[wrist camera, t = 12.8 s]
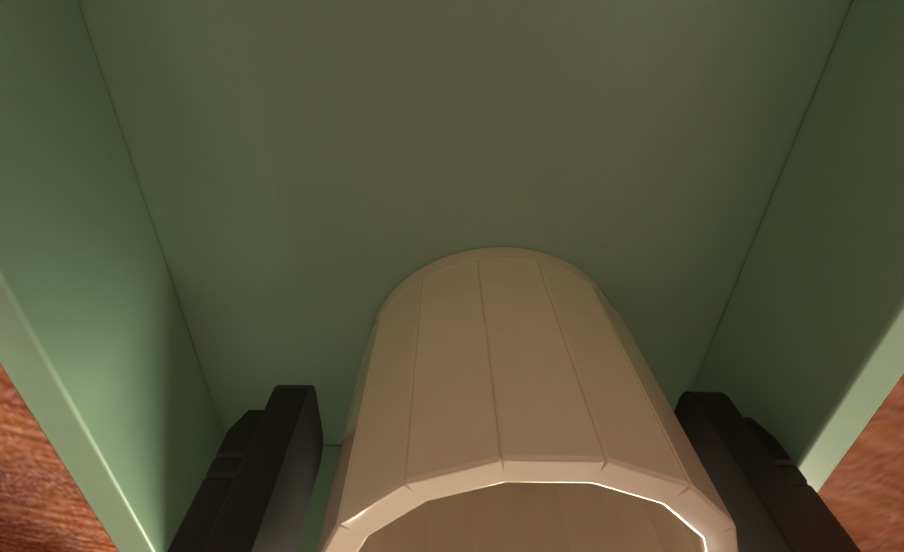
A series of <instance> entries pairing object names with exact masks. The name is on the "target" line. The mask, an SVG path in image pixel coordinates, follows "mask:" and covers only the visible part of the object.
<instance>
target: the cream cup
mask: <svg viewBox="0 0 904 552" xmlns="http://www.w3.org/2000/svg"><path fill="white" fill-rule="evenodd" d="M316 552H738V544H737V534H736V525H735V523H734V522H733V520H732V518H731V516H730V514H729V512H728V511H727V509H726V507H725V505H724V503H723V501H722V500H721V498H720V496H719V494H718V492H717V490H716V489H715V487H714V485H713V483H712V481H711V480H710V478H709V476H708V474H707V472H706V470H705V469H704V467H703V465H702V463H701V461H700V459H699V458H698V456H697V454H696V452H695V450H694V449H693V447H692V445H691V443H690V441H689V439H688V438H687V436H686V434H685V432H684V430H683V428H682V427H681V425H680V423H679V421H678V419H677V418H676V416H675V414H674V412H673V410H672V408H671V407H670V405H669V403H668V401H667V399H666V397H665V396H664V394H663V392H662V390H661V388H660V386H659V385H658V383H657V381H656V379H655V377H654V376H653V374H652V372H651V370H650V368H649V366H648V365H647V363H646V361H645V359H644V357H643V355H642V354H641V352H640V350H639V348H638V346H637V345H636V343H635V341H634V339H633V337H632V335H631V334H630V332H629V330H628V328H627V326H626V324H625V323H624V321H623V319H622V317H621V315H620V314H619V313H618V312H617V311H616V310H615V309H614V308H613V306H612V304H611V302H610V301H609V299H608V297H607V295H606V294H605V293H604V292H603V290H602V289H601V288H600V287H599V285H598V284H597V283H596V282H595V281H593V280H592V279H591V278H590V277H589V276H588V275H587V274H585V273H584V272H583V271H581V270H580V269H578V268H577V267H575V266H574V265H572V264H570V263H568V262H566V261H564V260H562V259H560V258H557V257H554V256H551V255H548V254H545V253H543V252H539V251H534V250H529V249H524V248H513V247H486V248H479V249H472V250H466V251H463V252H459V253H455V254H452V255H448V256H446V257H444V258H441V259H439V260H436V261H434V262H432V263H430V264H428V265H426V266H424V267H423V268H421V269H419V270H417V271H416V272H414V273H413V274H412V275H410V276H409V277H408V278H406V279H405V280H404V281H402V282H401V283H400V284H399V285H398V286H397V287H396V288H395V289H394V290H393V291H392V292H391V293H390V295H389V296H388V297H387V299H386V300H385V301H384V302H383V304H382V305H381V307H380V309H379V311H378V313H377V315H376V316H375V319H374V322H373V324H372V327H371V330H370V334H369V339H368V342H367V344H366V346H365V348H364V351H363V355H362V359H361V363H360V368H359V372H358V376H357V380H356V385H355V389H354V393H353V397H352V402H351V406H350V410H349V414H348V419H347V423H346V427H345V431H344V435H343V440H342V444H341V448H340V452H339V457H338V461H337V465H336V469H335V474H334V478H333V482H332V486H331V490H330V495H329V499H328V503H327V507H326V512H325V516H324V520H323V524H322V529H321V533H320V537H319V541H318V546H317V550H316Z"/></svg>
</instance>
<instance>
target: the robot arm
mask: <svg viewBox="0 0 904 552" xmlns="http://www.w3.org/2000/svg"><path fill="white" fill-rule="evenodd" d="M674 414H675V416H676V418H677V419H678V421H679V423H680V425H681V427H682V428H683V430H684V432H685V434H686V436H687V438H688V439H689V441H690V443H691V445H692V447H693V449H694V450H695V452H696V454H697V456H698V458H699V459H700V461H701V463H702V465H703V467H704V469H705V470H706V472H707V474H708V476H709V478H710V480H711V481H712V483H713V485H714V487H715V489H716V490H717V492H718V494H719V496H720V498H721V500H722V501H723V503H724V505H725V507H726V509H727V511H728V512H729V514H730V516H731V518H732V520H733V522H734V523H735V525H736V534H737V544H738V552H861V551H860V550H859V549H858V547H857V546H856V545H855V543H854V542H853V541H852V539H851V538H850V537H849V535H848V534H847V533H846V531H845V530H844V529H843V527H842V526H841V525H840V523H839V522H838V521H837V519H836V518H835V517H834V515H833V514H832V513H831V511H830V510H829V509H828V507H827V506H826V505H825V503H824V502H823V501H822V499H821V498H820V497H819V495H818V494H817V493H816V491H815V490H814V489H813V487H812V486H809V485H808V484H807V479H806V478H805V477H804V475H803V474H802V473H801V471H800V470H799V469H798V467H797V466H794V465H793V464H792V459H791V458H790V457H789V455H788V454H787V453H786V451H785V450H784V449H783V447H782V446H781V445H780V443H779V442H778V441H777V439H776V438H775V437H774V436H773V435H771V434H770V433H769V432H768V431H766V430H765V429H764V428H763V427H762V426H760V425H759V424H758V423H757V422H755V421H754V420H753V419H752V418H751V417H743V416H742V415H741V413H740V412H739V411H738V409H737V408H736V406H735V405H734V404H733V402H732V401H731V399H730V398H729V397H728V396H727V395H726V394H724V393H722V392H689V391H686V392H684V393H682V395H681V396H680V398H679V400H678V403H677V405H676V408H675V410H674ZM322 450H323V431H322V425H321V419H320V413H319V407H318V401H317V395H316V390H315V387H314V386H313V385H277V386H276V387H275V388H274V389H273V391H272V393H271V396H270V398H269V400H268V403H267V405H266V407H265V409H264V410H248V411H247V412H246V413H245V414H244V415H243V416H242V417H241V418H240V419H239V420H238V421H237V422H236V423H235V424H234V425H233V426H232V427H231V428H230V429H229V430H228V432H227V434H226V436H225V438H224V440H223V442H222V444H221V446H220V448H219V450H218V451H217V453H216V454H217V456H216V458H214V459H213V461H212V463H211V465H210V467H209V469H208V471H207V473H206V474H207V475H206V479H203V481H202V483H201V485H200V487H199V489H198V491H197V493H196V495H195V497H194V499H193V501H192V503H191V505H190V507H189V509H188V511H187V513H186V515H185V517H184V519H183V521H182V523H181V525H180V527H179V529H178V531H177V533H176V535H175V537H174V539H173V541H172V543H171V545H170V547H169V549H168V551H167V552H296V551H297V548H298V544H299V540H300V536H301V533H302V529H303V525H304V522H305V518H306V514H307V511H308V507H309V503H310V499H311V496H312V492H313V488H314V485H315V481H316V477H317V473H318V470H319V466H320V462H321V457H322Z"/></svg>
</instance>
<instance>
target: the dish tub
mask: <svg viewBox="0 0 904 552" xmlns="http://www.w3.org/2000/svg"><path fill="white" fill-rule="evenodd" d="M486 247H513V248H524V249H529V250H534V251H539V252H543V253H545V254H548V255H551V256H554V257H557V258H560V259H562V260H564V261H566V262H568V263H570V264H572V265H574V266H575V267H577V268H578V269H580V270H581V271H583V272H584V273H585V274H587V275H588V276H589V277H590V278H591V279H592V280H593V281H595V282H596V283H597V284H598V285H599V287H600V288H601V289H602V290H603V292H604V293H605V294H606V295H607V297H608V299H609V301H610V302H611V304H612V306H613V308H614V309H615V310H616V311H617V312H618V313H619V314H620V315H621V317H622V319H623V321H624V323H625V324H626V326H627V328H628V330H629V332H630V334H631V335H632V337H633V339H634V341H635V343H636V345H637V346H638V348H639V350H640V352H641V354H642V355H643V357H644V359H645V361H646V363H647V365H648V366H649V368H650V370H651V372H652V374H653V376H654V377H655V379H656V381H657V383H658V385H659V386H660V388H661V390H662V392H663V394H664V396H665V397H666V399H667V401H668V403H669V405H670V407H671V408H672V410H673V412H674V410H675V408H676V405H677V403H678V400H679V398H680V396H681V395H682V393H684V392H686V391H689V392H722V393H724V394H726V395H727V396H728V397H729V398H730V399H731V401H732V402H733V404H734V405H735V406H736V408H737V409H738V411H739V412H740V413H741V415H742V416H743V417H751V418H752V419H753V420H754V421H755V422H757V423H758V424H759V425H760V426H762V427H763V428H764V429H765V430H766V431H768V432H769V433H770V434H771V435H773V436H774V437H775V438H776V439H777V441H778V442H779V443H780V445H781V446H782V447H783V449H784V450H785V451H786V453H787V454H788V455H789V457H790V458H791V459H792V464H793V465H794V466H797V467H798V469H799V470H800V471H801V473H802V474H803V475H804V477H805V478H806V479H807V484H808V485H809V486H812V487H813V489H814V490H815V491H816V493H817V492H818V491H819V489H820V488H821V487H822V485H823V484H824V483H825V481H826V480H827V478H828V477H829V476H830V474H831V473H832V471H833V470H834V469H835V467H836V466H837V464H838V463H839V462H840V460H841V459H842V458H843V456H844V455H845V453H846V452H847V451H848V449H849V448H850V446H851V445H852V444H853V442H854V441H855V440H856V438H857V437H858V435H859V434H860V433H861V431H862V430H863V428H864V427H865V426H866V424H867V423H868V421H869V420H870V419H871V417H872V416H873V415H874V413H875V412H876V410H877V409H878V408H879V406H880V405H881V403H882V402H883V401H884V399H885V398H886V397H887V395H888V394H889V392H890V391H891V390H892V388H893V387H894V385H895V384H896V383H897V381H898V380H899V379H900V377H901V376H902V374H903V373H904V0H0V365H1V366H2V368H3V369H4V371H5V373H6V374H7V376H8V377H9V379H10V380H11V382H12V384H13V385H14V387H15V388H16V390H17V392H18V393H19V395H20V396H21V398H22V399H23V401H24V403H25V404H26V406H27V407H28V409H29V411H30V412H31V414H32V415H33V417H34V418H35V420H36V422H37V423H38V425H39V426H40V428H41V430H42V431H43V433H44V434H45V436H46V437H47V439H48V441H49V442H50V444H51V445H52V447H53V449H54V450H55V452H56V453H57V455H58V457H59V458H60V460H61V461H62V463H63V464H64V466H65V468H66V469H67V471H68V472H69V474H70V476H71V477H72V479H73V480H74V482H75V483H76V485H77V487H78V488H79V490H80V491H81V493H82V495H83V496H84V498H85V499H86V501H87V502H88V504H89V506H90V507H91V509H92V510H93V512H94V514H95V515H96V517H97V518H98V520H99V521H100V523H101V525H102V526H103V528H104V529H105V531H106V533H107V534H108V536H109V537H110V539H111V540H112V542H113V544H114V545H115V547H116V548H117V550H118V552H167V551H168V549H169V547H170V545H171V543H172V541H173V539H174V537H175V535H176V533H177V531H178V529H179V527H180V525H181V523H182V521H183V519H184V517H185V515H186V513H187V511H188V509H189V507H190V505H191V503H192V501H193V499H194V497H195V495H196V493H197V491H198V489H199V487H200V485H201V483H202V481H203V479H206V475H207V474H206V473H207V471H208V469H209V467H210V465H211V463H212V461H213V459H214V458H216V456H217V454H216V453H217V451H218V450H219V448H220V446H221V444H222V442H223V440H224V438H225V436H226V434H227V432H228V430H229V429H230V428H231V427H232V426H233V425H234V424H235V423H236V422H237V421H238V420H239V419H240V418H241V417H242V416H243V415H244V414H245V413H246V412H247V411H248V410H264V409H265V407H266V405H267V403H268V400H269V398H270V396H271V393H272V391H273V389H274V388H275V387H276V386H277V385H313V386H314V387H315V390H316V395H317V401H318V407H319V413H320V419H321V425H322V431H323V450H322V457H321V462H320V466H319V470H318V473H317V477H316V481H315V485H314V488H313V492H312V496H311V499H310V503H309V507H308V511H307V514H306V518H305V522H304V525H303V529H302V533H301V536H300V540H299V544H298V548H297V551H296V552H316V550H317V546H318V541H319V537H320V533H321V529H322V524H323V520H324V516H325V512H326V507H327V503H328V499H329V495H330V490H331V486H332V482H333V478H334V474H335V469H336V465H337V461H338V457H339V452H340V448H341V444H342V440H343V435H344V431H345V427H346V423H347V419H348V414H349V410H350V406H351V402H352V397H353V393H354V389H355V385H356V380H357V376H358V372H359V368H360V363H361V359H362V355H363V351H364V348H365V346H366V344H367V342H368V339H369V334H370V330H371V327H372V324H373V322H374V319H375V316H376V315H377V313H378V311H379V309H380V307H381V305H382V304H383V302H384V301H385V300H386V299H387V297H388V296H389V295H390V293H391V292H392V291H393V290H394V289H395V288H396V287H397V286H398V285H399V284H400V283H401V282H402V281H404V280H405V279H406V278H408V277H409V276H410V275H412V274H413V273H414V272H416V271H417V270H419V269H421V268H423V267H424V266H426V265H428V264H430V263H432V262H434V261H436V260H439V259H441V258H444V257H446V256H448V255H452V254H455V253H459V252H463V251H466V250H472V249H479V248H486Z"/></svg>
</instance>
